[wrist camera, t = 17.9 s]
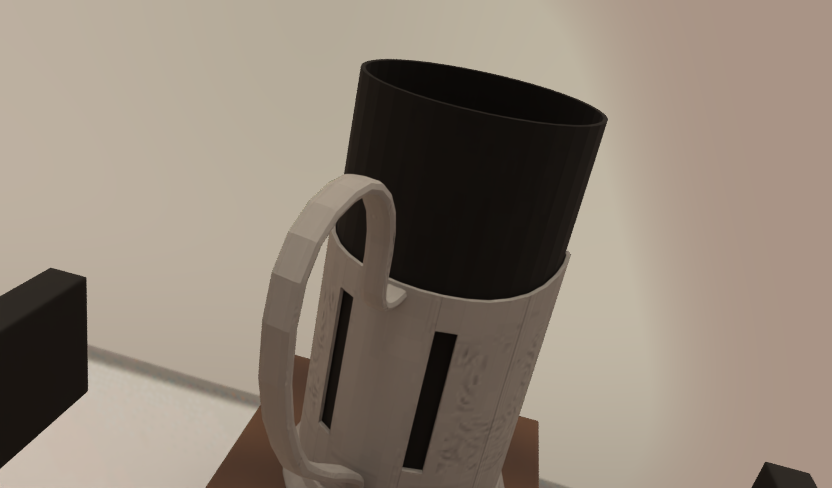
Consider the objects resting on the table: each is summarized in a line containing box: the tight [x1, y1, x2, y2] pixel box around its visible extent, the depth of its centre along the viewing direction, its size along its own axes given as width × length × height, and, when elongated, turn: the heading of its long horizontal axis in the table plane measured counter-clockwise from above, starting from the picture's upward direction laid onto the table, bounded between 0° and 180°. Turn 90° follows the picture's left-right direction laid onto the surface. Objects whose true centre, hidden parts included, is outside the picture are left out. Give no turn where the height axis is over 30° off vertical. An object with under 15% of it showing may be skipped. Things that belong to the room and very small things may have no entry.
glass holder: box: [258, 59, 608, 488], centre depth 20 cm, size 9×14×15 cm, turn 155°
